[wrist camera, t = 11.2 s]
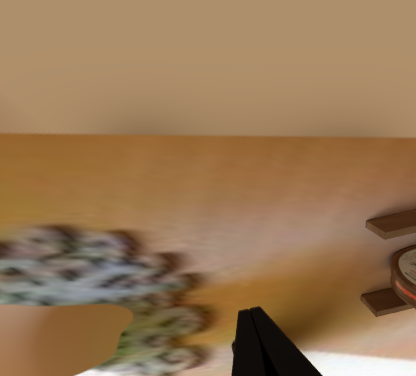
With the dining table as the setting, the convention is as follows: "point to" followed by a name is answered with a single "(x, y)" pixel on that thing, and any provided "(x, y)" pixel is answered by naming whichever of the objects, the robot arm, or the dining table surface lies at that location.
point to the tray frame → (386, 229)
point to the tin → (405, 275)
